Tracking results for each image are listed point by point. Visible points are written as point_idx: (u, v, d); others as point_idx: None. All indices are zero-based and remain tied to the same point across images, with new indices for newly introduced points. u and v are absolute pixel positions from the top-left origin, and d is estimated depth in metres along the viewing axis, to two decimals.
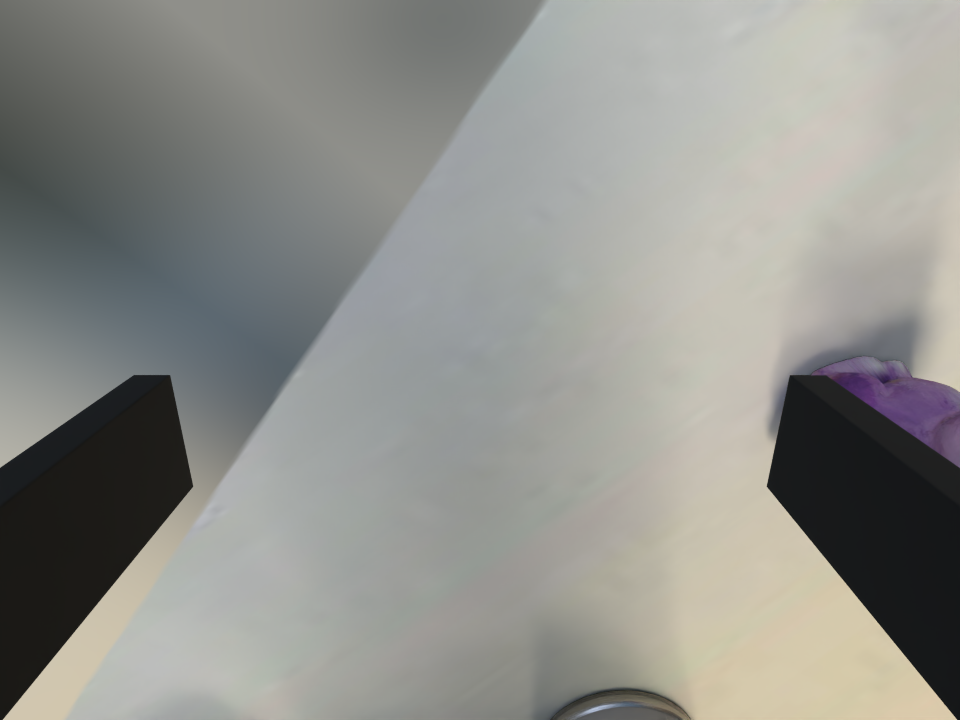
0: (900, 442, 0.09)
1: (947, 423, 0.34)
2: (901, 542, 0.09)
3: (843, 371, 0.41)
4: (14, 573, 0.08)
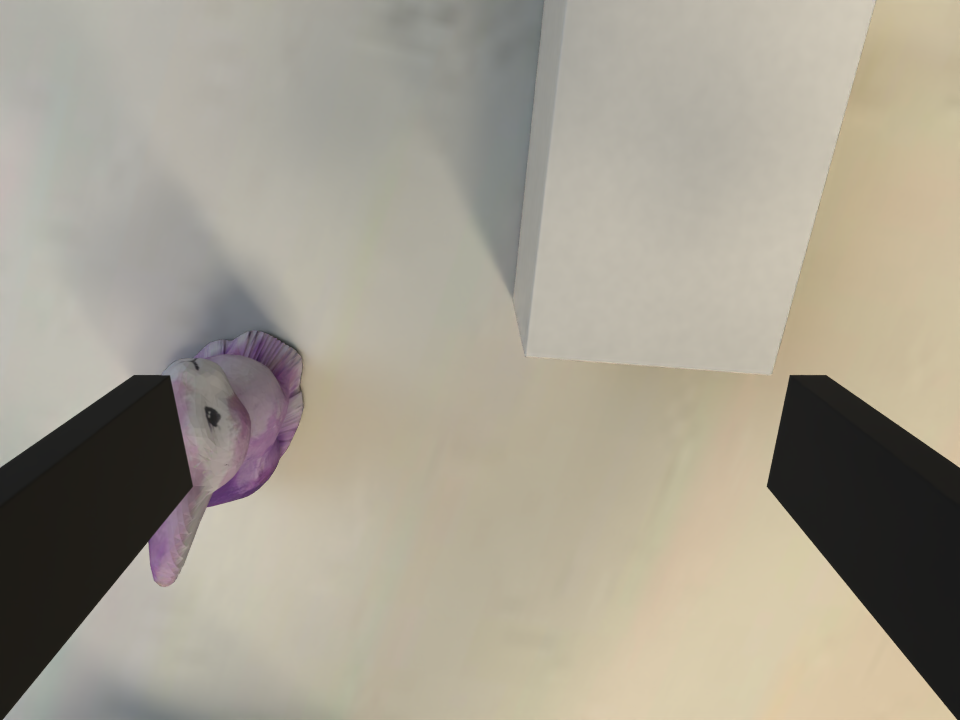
0: (900, 442, 0.09)
1: None
2: (901, 542, 0.09)
3: None
4: (14, 573, 0.08)
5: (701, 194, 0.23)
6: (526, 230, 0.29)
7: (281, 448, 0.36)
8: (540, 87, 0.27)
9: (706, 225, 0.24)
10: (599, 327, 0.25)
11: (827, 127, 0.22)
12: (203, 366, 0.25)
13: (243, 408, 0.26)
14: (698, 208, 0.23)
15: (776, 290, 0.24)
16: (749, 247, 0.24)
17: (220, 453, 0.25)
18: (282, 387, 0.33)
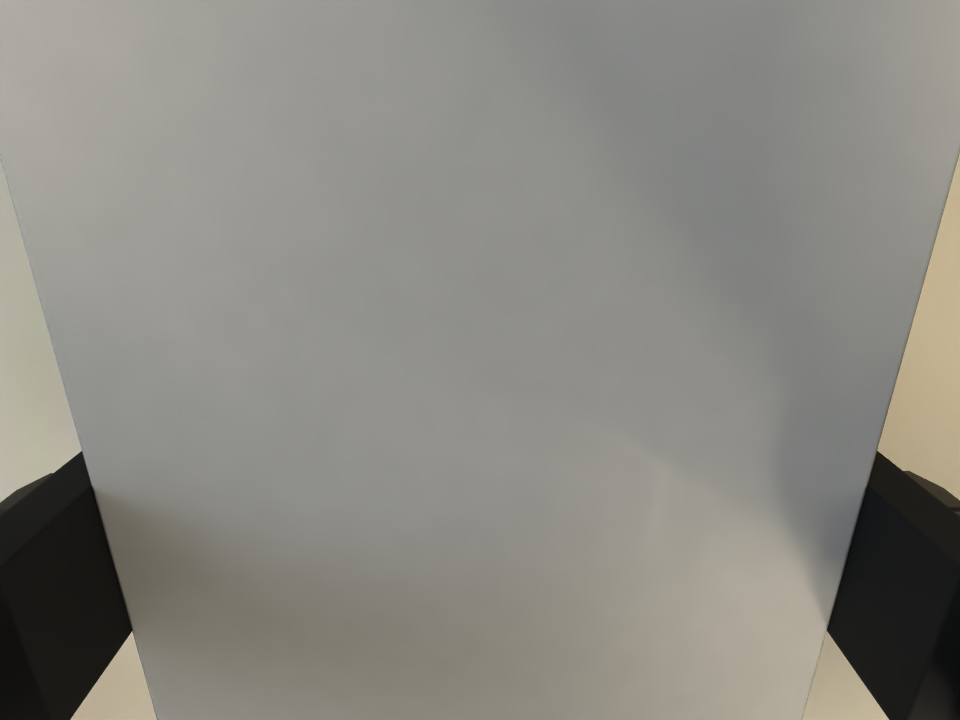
0: None
1: None
2: None
3: None
4: None
5: (532, 404, 0.08)
6: None
7: None
8: None
9: (563, 479, 0.08)
10: (333, 714, 0.10)
11: (907, 184, 0.07)
12: None
13: None
14: (531, 440, 0.08)
15: (781, 613, 0.09)
16: (694, 523, 0.08)
17: None
18: None
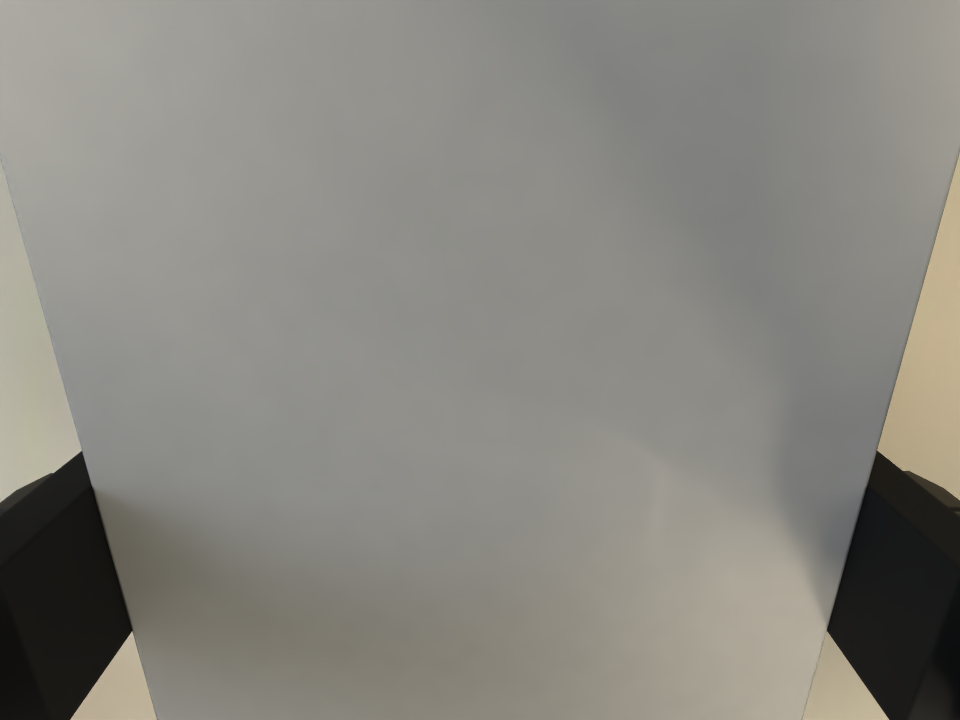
0: None
1: None
2: None
3: None
4: None
5: (531, 403, 0.08)
6: None
7: None
8: None
9: (563, 479, 0.08)
10: (333, 714, 0.10)
11: (907, 184, 0.07)
12: None
13: None
14: (531, 440, 0.08)
15: (780, 613, 0.09)
16: (694, 523, 0.08)
17: None
18: None
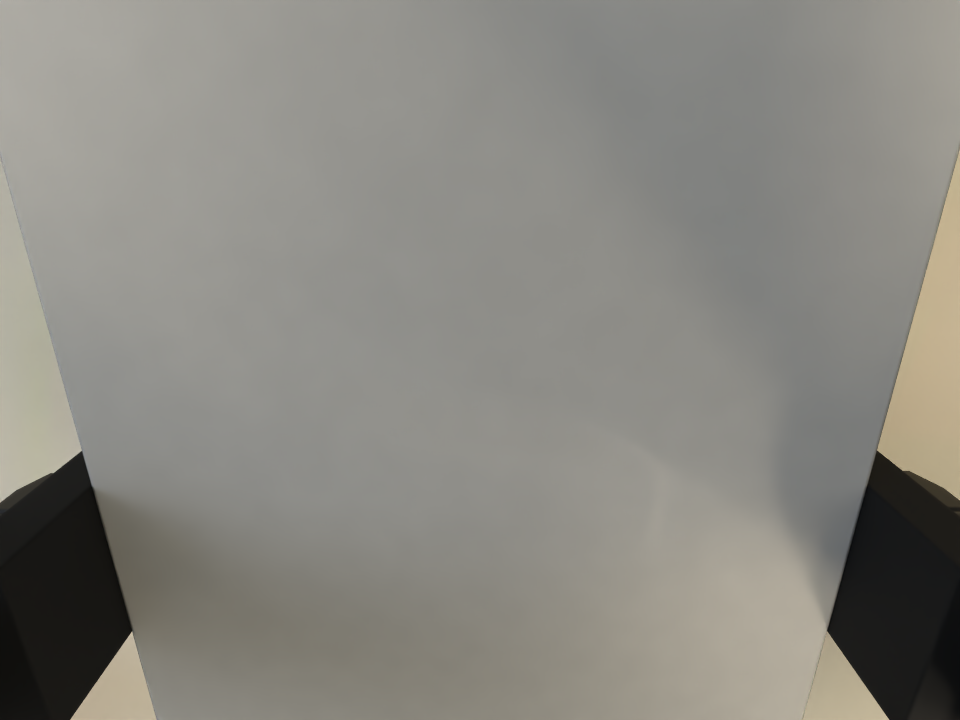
0: None
1: None
2: None
3: None
4: None
5: (531, 403, 0.08)
6: None
7: None
8: None
9: (563, 479, 0.08)
10: (333, 714, 0.10)
11: (906, 183, 0.07)
12: None
13: None
14: (531, 439, 0.08)
15: (781, 613, 0.09)
16: (694, 522, 0.08)
17: None
18: None
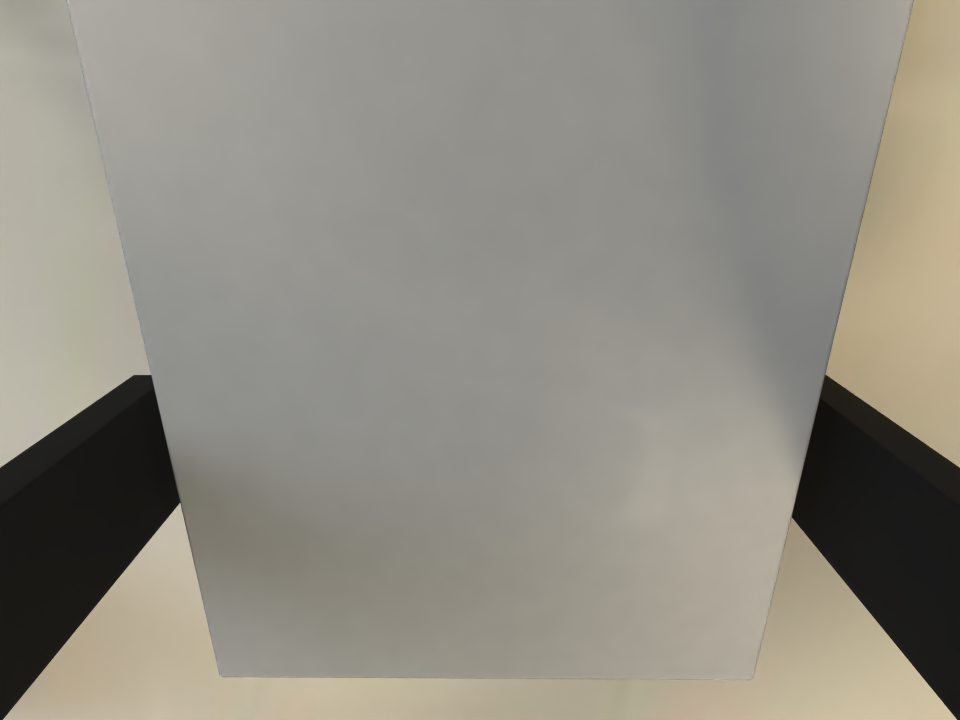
0: (900, 442, 0.09)
1: None
2: (901, 542, 0.09)
3: None
4: (14, 573, 0.08)
5: (530, 341, 0.09)
6: None
7: None
8: None
9: (557, 408, 0.10)
10: (359, 619, 0.11)
11: (841, 154, 0.08)
12: None
13: None
14: (530, 373, 0.09)
15: (744, 529, 0.11)
16: (669, 447, 0.10)
17: None
18: None
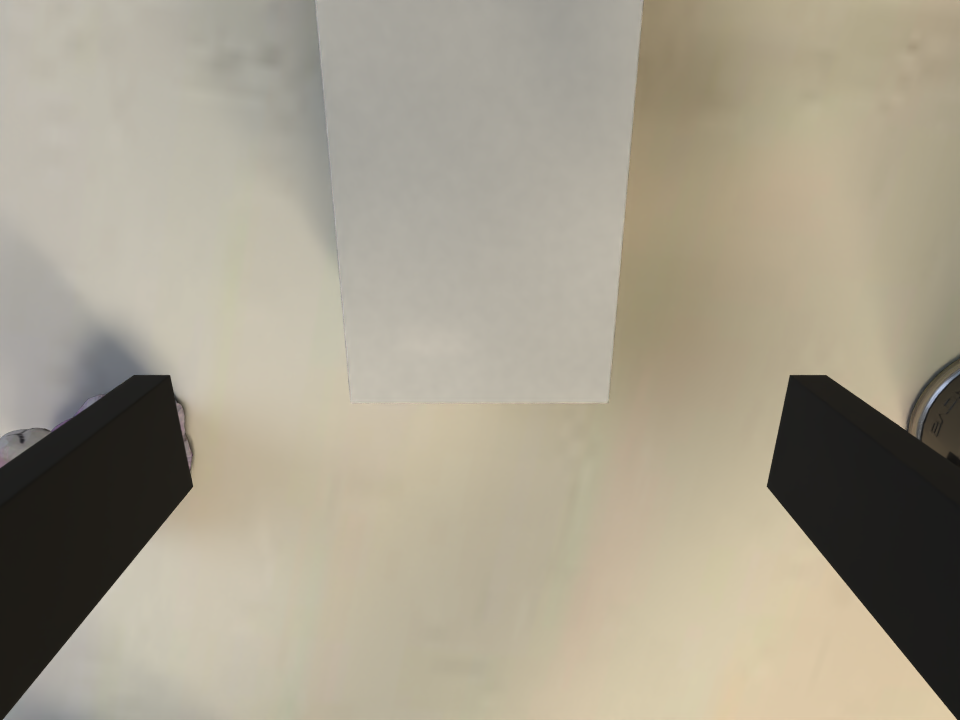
0: (900, 442, 0.09)
1: None
2: (901, 542, 0.09)
3: None
4: (14, 573, 0.08)
5: (498, 227, 0.22)
6: None
7: None
8: None
9: (509, 258, 0.23)
10: (420, 368, 0.24)
11: (616, 149, 0.21)
12: (30, 438, 0.25)
13: None
14: (498, 242, 0.22)
15: (595, 318, 0.23)
16: (559, 276, 0.23)
17: None
18: None
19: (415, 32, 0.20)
